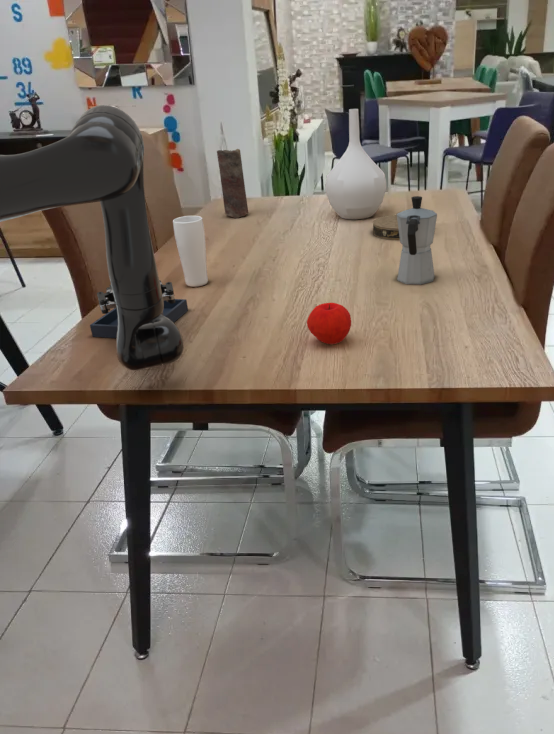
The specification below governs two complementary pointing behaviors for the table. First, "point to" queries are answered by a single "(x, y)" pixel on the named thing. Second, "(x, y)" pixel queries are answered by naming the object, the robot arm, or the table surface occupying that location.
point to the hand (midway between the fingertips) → (133, 286)
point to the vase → (355, 179)
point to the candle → (232, 183)
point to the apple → (329, 323)
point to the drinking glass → (191, 249)
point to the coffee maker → (416, 243)
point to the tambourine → (386, 227)
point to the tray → (109, 321)
